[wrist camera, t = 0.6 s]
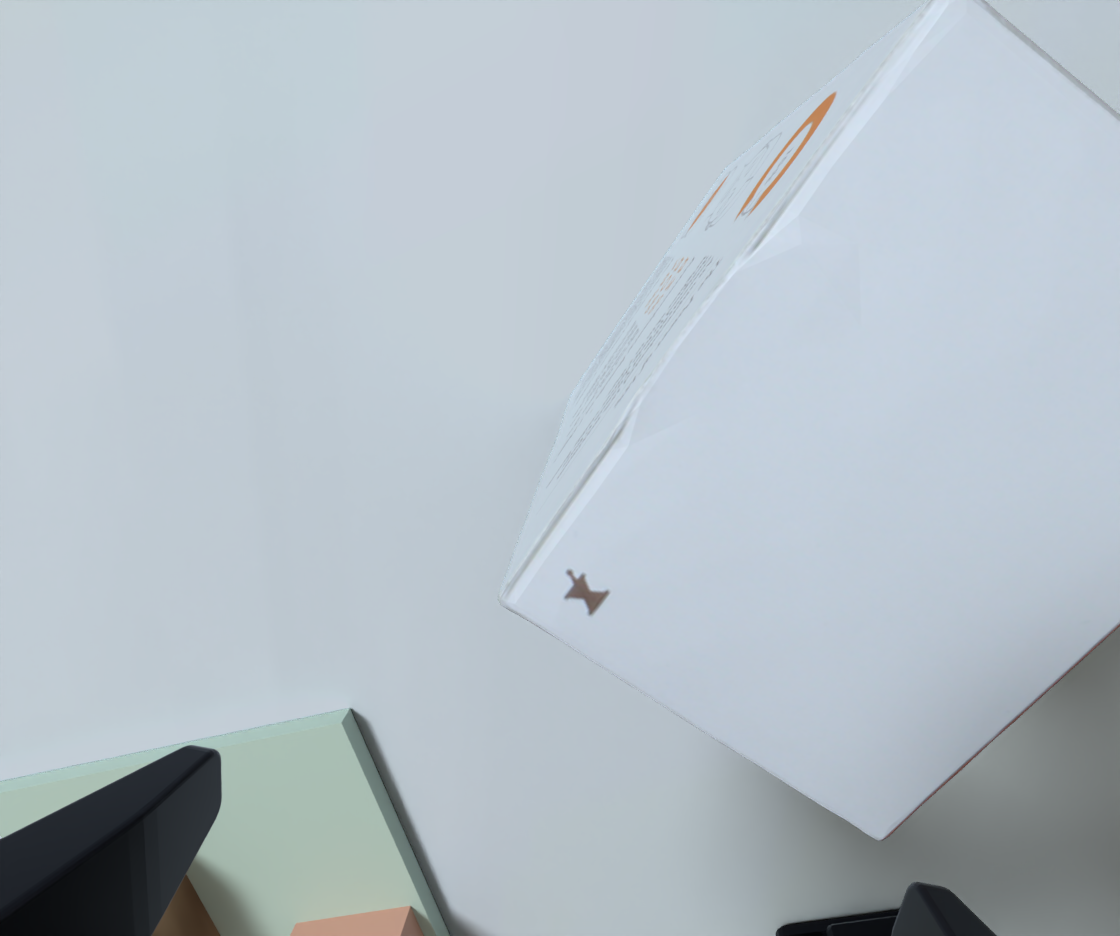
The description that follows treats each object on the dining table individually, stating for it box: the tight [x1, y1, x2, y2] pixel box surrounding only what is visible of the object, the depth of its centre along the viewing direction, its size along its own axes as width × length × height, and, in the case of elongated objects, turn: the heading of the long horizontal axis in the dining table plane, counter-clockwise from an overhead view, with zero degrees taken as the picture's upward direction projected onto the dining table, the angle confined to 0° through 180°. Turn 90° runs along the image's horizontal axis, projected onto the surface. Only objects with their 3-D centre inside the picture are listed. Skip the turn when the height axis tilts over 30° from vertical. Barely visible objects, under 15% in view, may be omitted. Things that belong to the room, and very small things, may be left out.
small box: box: [498, 0, 1120, 841], centre depth 14 cm, size 8×6×13 cm
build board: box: [0, 708, 450, 936], centre depth 28 cm, size 16×16×1 cm
